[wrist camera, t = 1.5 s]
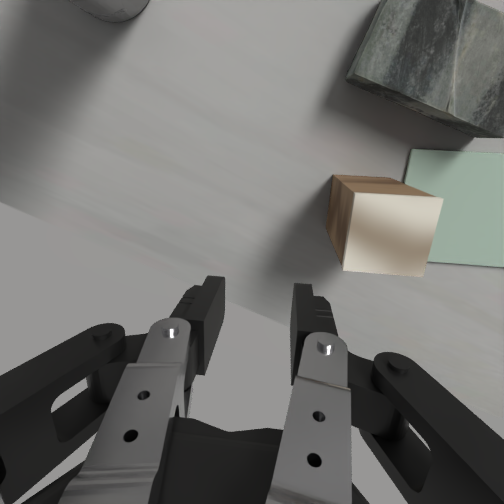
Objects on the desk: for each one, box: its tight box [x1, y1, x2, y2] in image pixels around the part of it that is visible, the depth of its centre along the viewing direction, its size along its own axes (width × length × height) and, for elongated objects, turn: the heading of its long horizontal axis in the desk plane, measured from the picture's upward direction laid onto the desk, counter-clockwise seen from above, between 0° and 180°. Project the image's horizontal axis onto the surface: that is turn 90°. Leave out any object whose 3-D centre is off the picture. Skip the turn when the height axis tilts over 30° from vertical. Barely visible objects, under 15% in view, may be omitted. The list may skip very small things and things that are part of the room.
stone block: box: [345, 0, 504, 138], centre depth 27 cm, size 9×14×5 cm, turn 68°
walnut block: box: [326, 175, 444, 277], centre depth 29 cm, size 6×6×12 cm
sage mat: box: [404, 149, 504, 267], centre depth 33 cm, size 12×14×1 cm
